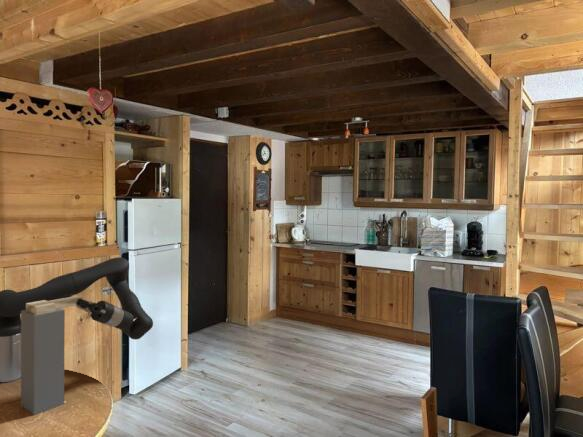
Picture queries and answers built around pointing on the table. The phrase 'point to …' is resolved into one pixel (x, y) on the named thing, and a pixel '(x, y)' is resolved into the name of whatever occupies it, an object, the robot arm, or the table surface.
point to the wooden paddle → (51, 305)
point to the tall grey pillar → (42, 360)
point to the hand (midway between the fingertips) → (70, 299)
